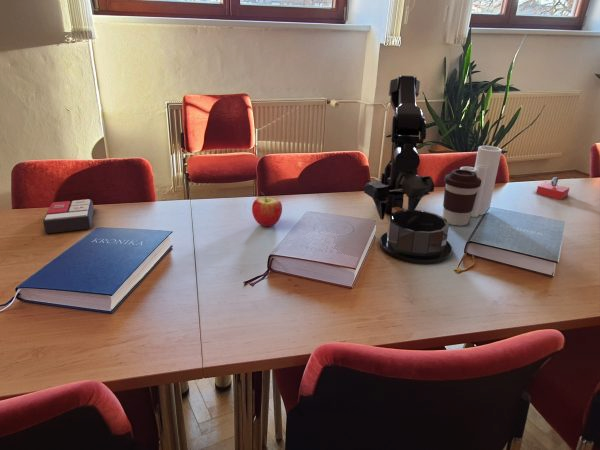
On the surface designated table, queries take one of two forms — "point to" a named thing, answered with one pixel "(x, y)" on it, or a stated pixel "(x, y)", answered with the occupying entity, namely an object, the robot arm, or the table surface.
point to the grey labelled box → (69, 216)
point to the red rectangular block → (553, 189)
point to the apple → (266, 211)
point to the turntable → (415, 259)
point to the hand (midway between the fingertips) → (396, 217)
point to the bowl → (417, 232)
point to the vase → (485, 177)
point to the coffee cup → (460, 196)
